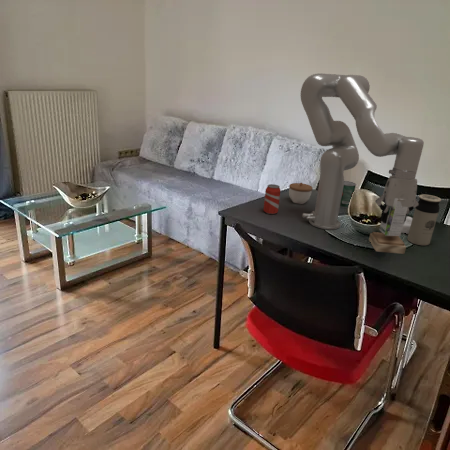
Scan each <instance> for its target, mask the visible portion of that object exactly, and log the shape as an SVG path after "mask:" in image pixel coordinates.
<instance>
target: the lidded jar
mask: <svg viewBox="0 0 450 450" xmlns="http://www.w3.org/2000/svg"><path fill="white" fill-rule="evenodd" d="M312 192H313V187H312V185H309V184H306V183H303V182H294V183H290V184H289V189H288V195H289V198H290V200H291V201H292V203H294V204H299V205H301V204H302V205H303V204H305V203H306V202H308V201H309V200H310V198H311V195H312Z"/></svg>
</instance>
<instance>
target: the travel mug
mask: <svg viewBox="0 0 450 450" xmlns="http://www.w3.org/2000/svg"><path fill="white" fill-rule="evenodd" d="M418 198H419V199H418V201H417V202H418V203H419V205H418V206H416V207H415V208H414V211H413V215H412V218H413V219H412V222H411V226H410V230H409V234H407V238H406V239H407V241H409V242H410V243H411V244H413V245H416V246H417V245H418V246H429V245H431V240H432V238H433V237H432V236H433V233H434V230H435V226H436V223H437V219H438V215H439V212H440V202H441V201H442V199H441V198H440V197H438V196H435V195H431V194H419V195H418Z"/></svg>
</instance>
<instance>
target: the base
mask: <svg viewBox="0 0 450 450" xmlns="http://www.w3.org/2000/svg"><path fill="white" fill-rule="evenodd" d="M368 241H369V242H371V243H370V244H371V246H372V247H373V250H375V252H379V253H391V254H402V255H405V252H406V249H407V245H405V242H404V241H403V240H402V238H401V237H400V236H386V235H385V234H384V233H382V232H377V231H376V232H375V231H372V233H371V232H370V234H369V238H368Z"/></svg>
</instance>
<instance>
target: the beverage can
mask: <svg viewBox="0 0 450 450" xmlns="http://www.w3.org/2000/svg"><path fill="white" fill-rule="evenodd" d="M281 191H282V190H281V188H280V185H278V184H273V183H272V184H268V185H267V186H266V188H265V192H264V193H265V194H264V202H263V212H265V214H267V215H276V214H277V213H278V212H279V207H280V200H281V199H280V198H281Z"/></svg>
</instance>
